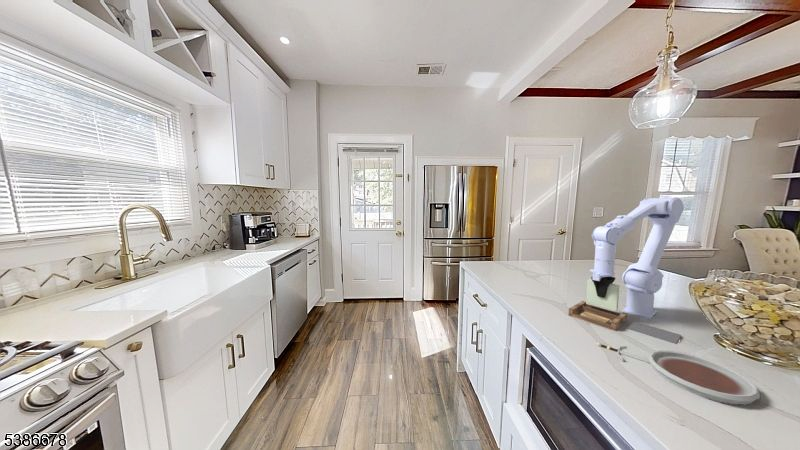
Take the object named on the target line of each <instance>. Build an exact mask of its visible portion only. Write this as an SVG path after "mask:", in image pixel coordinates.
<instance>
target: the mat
mask: <svg viewBox="0 0 800 450" xmlns="http://www.w3.org/2000/svg"><path fill="white" fill-rule="evenodd" d="M626 329H628V330H631V331H634V332H636V333H639V334H642V335H643V334H644V335H646V336H649V337H652V338H656V339H659V340H662V341H666V342H669V343H672V344H674V345H676V344H677V343H678V342H679V340H680V339H681V337H682V334H679V333H677V332H672V331H669V330H667V329H662V328H659V327H655V326H652V325H649V324H647V323H646V324H645V323H642V322H638V321H633V322H632V323H631V324H629V325H628V326H627V327H626Z"/></svg>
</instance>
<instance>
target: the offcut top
mask: <svg viewBox="0 0 800 450" xmlns="http://www.w3.org/2000/svg"><path fill="white" fill-rule="evenodd" d="M579 315H581V316H584V317H587V318H590V319H594V320H597V321H600V322H603V323H606V324H609V325H610V324H611V321H610V319H607V318H604V317H601V316H598V315H594V314H591V313H588V312H580V314H579Z"/></svg>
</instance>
